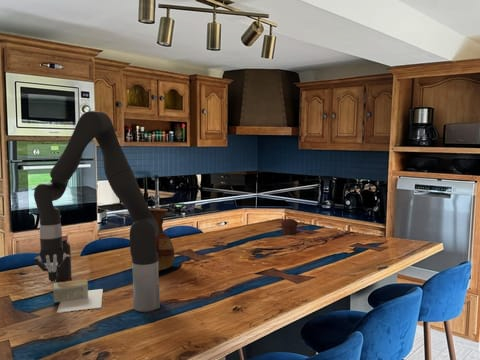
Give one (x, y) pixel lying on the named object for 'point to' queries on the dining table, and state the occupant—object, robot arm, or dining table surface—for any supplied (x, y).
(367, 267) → the dining table surface
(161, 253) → the brown vase
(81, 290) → the skincare box
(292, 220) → the muffin
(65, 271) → the vinegar
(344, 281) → the dining table surface
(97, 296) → the mat
